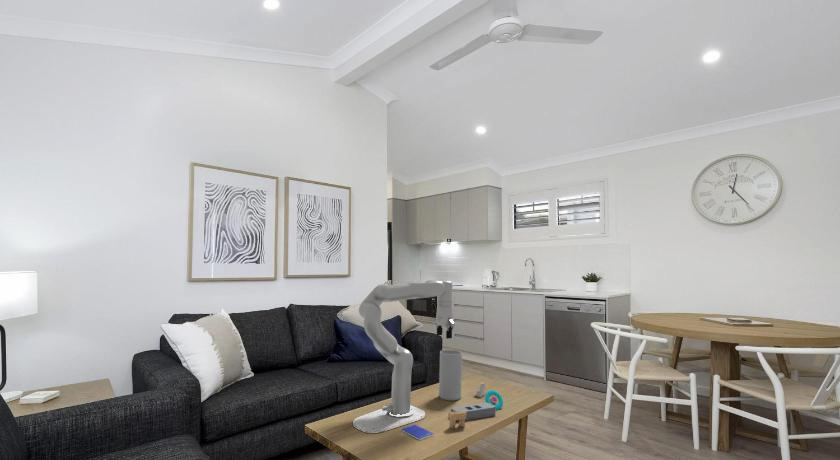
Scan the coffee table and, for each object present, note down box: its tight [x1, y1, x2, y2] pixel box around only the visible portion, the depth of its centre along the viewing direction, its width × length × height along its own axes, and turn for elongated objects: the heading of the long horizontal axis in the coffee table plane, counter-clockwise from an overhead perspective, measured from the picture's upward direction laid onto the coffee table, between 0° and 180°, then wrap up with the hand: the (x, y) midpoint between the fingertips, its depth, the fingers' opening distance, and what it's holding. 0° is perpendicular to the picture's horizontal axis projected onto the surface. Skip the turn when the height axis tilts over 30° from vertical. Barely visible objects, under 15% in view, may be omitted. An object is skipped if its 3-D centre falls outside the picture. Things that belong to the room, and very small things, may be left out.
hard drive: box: [401, 424, 435, 441], centre depth 186 cm, size 2×8×12 cm
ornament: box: [484, 390, 504, 411], centre depth 223 cm, size 11×4×10 cm
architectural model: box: [474, 382, 486, 398], centre depth 242 cm, size 3×7×7 cm, turn 143°
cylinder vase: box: [438, 349, 463, 401], centre depth 237 cm, size 12×12×25 cm
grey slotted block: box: [450, 402, 497, 423], centre depth 209 cm, size 22×7×4 cm, turn 117°
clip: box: [447, 410, 467, 430], centre depth 194 cm, size 8×3×6 cm, turn 117°
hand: (444, 336), depth 222 cm, fingers open, 9 cm apart
